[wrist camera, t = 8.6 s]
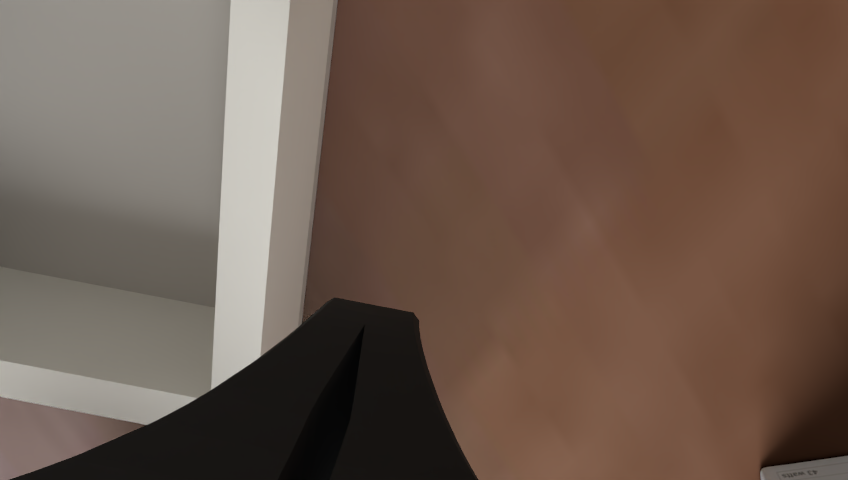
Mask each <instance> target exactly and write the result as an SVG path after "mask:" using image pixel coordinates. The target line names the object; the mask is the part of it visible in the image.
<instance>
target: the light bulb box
mask: <svg viewBox="0 0 848 480" xmlns="http://www.w3.org/2000/svg"><path fill="white" fill-rule="evenodd" d="M760 476H761V480H848V456H842V457H835V458H828V459H821V460H814V461H807V462H800V463H794V464H786V465H778V466H770V467H765V468H762V470H761V472H760Z"/></svg>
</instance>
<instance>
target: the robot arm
mask: <svg viewBox="0 0 848 480" xmlns="http://www.w3.org/2000/svg"><path fill="white" fill-rule="evenodd" d="M10 480H478V479H477V477H476V475H475V473H474V472H473V470H472V468H471V467H470V465H469V463H468V461H467V459H466V457H465V455H464V453H463V452H462V450H461V448H460V446H459V444H458V442H457V440H456V437H455V435H454V433H453V431H452V429H451V427H450V424H449V422H448V420H447V418H446V416H445V413H444V411H443V408H442V406H441V403H440V401H439V398H438V395H437V393H436V390H435V387H434V384H433V382H432V379H431V376H430V373H429V370H428V367H427V363H426V360H425V356H424V352H423V348H422V344H421V339H420V332H419V320H418V319H417V317H416V316H415V314H414V313H413V312H407V311H402V310H397V309H392V308H386V307H381V306H376V305H371V304H365V303H360V302H355V301H350V300H344V299H339V298H333V299H331V300H330V301H328V302H327V303H325V304H324V305H323V306H322V307H321V308H320V309H319V310H317V311H316V312H315V313H314V314H313V315H312V316H311V317H309V318H308V319H307V320H306V321H305V322H304V323H302V324H301V325H300V326H299V327H298V328H296V329H295V330H294V331H293V332H292V333H290V334H289V335H288V336H287V337H285V338H284V339H283V340H281V341H280V342H279V343H278V344H276V345H275V346H274V347H272V348H271V349H270V350H268V351H267V352H266V353H264V354H263V355H262V356H261V357H259V358H258V359H256V360H255V361H254V362H252V363H251V364H249V365H248V366H246V367H245V368H243V369H242V370H240V371H239V372H237V373H236V374H234V375H233V376H231V377H230V378H228V379H227V380H225V381H224V382H222V383H221V384H219V385H218V386H216V387H215V388H213V389H212V390H210V391H209V392H207V393H205V394H204V395H202V396H200V397H199V398H197V399H195V400H194V401H192V402H190V403H188V404H187V405H185V406H183V407H181V408H179V409H177V410H175V411H174V412H172V413H170V414H168V415H166V416H164V417H162V418H160V419H158V420H156V421H154V422H152V423H150V424H148V425H146V426H144V427H141V428H139V429H137V430H134V431H132V432H130V433H128V434H125V435H123V436H121V437H118V438H116V439H114V440H112V441H109V442H107V443H105V444H102V445H100V446H98V447H95V448H93V449H91V450H89V451H86V452H84V453H82V454H79V455H77V456H74V457H72V458H69V459H66V460H64V461H61V462H58V463H55V464H53V465H50V466H47V467H45V468H42V469H39V470H36V471H34V472H31V473H28V474H25V475H22V476H19V477H16V478H13V479H10Z"/></svg>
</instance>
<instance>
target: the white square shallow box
mask: <svg viewBox="0 0 848 480" xmlns="http://www.w3.org/2000/svg"><path fill="white" fill-rule="evenodd" d="M337 3H338V0H0V397H4V398H10V399H15V400H20V401H25V402H30V403H36V404H41V405H46V406H51V407H56V408H62V409H67V410H72V411H77V412H82V413H87V414H93V415H98V416H103V417H108V418H113V419H119V420H124V421H129V422H134V423H139V424H145V425H148V424H150V423H152V422H154V421H156V420H158V419H160V418H162V417H164V416H166V415H168V414H170V413H172V412H174V411H175V410H177V409H179V408H181V407H183V406H185V405H187V404H188V403H190V402H192V401H194V400H195V399H197V398H199V397H200V396H202V395H204V394H205V393H207V392H209V391H210V390H212V389H213V388H215V387H216V386H218V385H219V384H221V383H222V382H224V381H225V380H227V379H228V378H230V377H231V376H233V375H234V374H236V373H237V372H239V371H240V370H242V369H243V368H245V367H246V366H248V365H249V364H251V363H252V362H254V361H255V360H256V359H258V358H259V357H261V356H262V355H263V354H264V353H266V352H267V351H268V350H270V349H271V348H272V347H274V346H275V345H276V344H278V343H279V342H280V341H281V340H283V339H284V338H285V337H287V336H288V335H289V334H290V333H292V332H293V331H294V330H295V329H296V328H298V327H299V326H300V325H301V324H302V318H303V309H304V300H305V291H306V282H307V273H308V264H309V255H310V246H311V237H312V228H313V219H314V210H315V201H316V192H317V183H318V174H319V165H320V156H321V147H322V138H323V129H324V120H325V111H326V102H327V93H328V84H329V75H330V66H331V57H332V48H333V39H334V30H335V21H336V12H337Z"/></svg>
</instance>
